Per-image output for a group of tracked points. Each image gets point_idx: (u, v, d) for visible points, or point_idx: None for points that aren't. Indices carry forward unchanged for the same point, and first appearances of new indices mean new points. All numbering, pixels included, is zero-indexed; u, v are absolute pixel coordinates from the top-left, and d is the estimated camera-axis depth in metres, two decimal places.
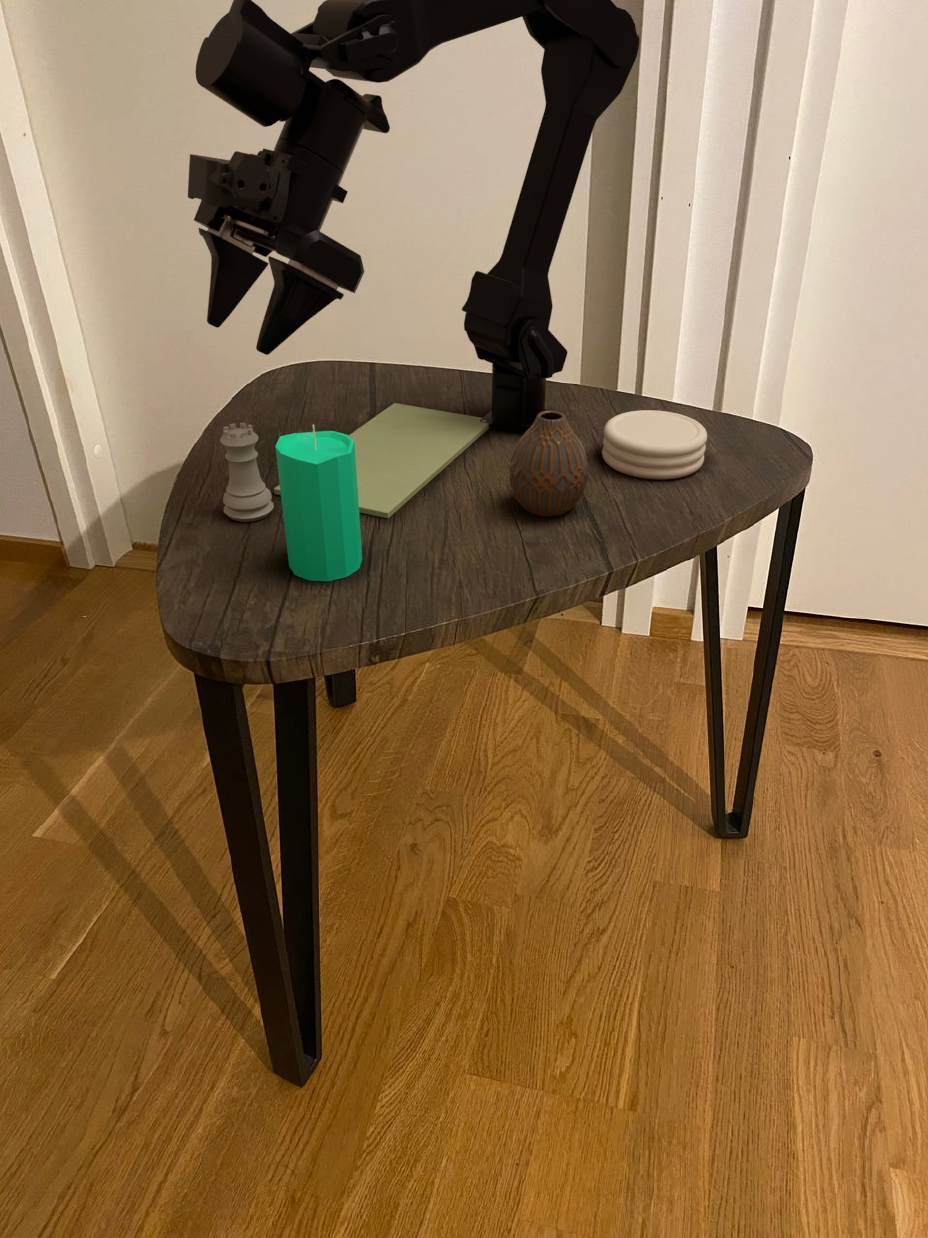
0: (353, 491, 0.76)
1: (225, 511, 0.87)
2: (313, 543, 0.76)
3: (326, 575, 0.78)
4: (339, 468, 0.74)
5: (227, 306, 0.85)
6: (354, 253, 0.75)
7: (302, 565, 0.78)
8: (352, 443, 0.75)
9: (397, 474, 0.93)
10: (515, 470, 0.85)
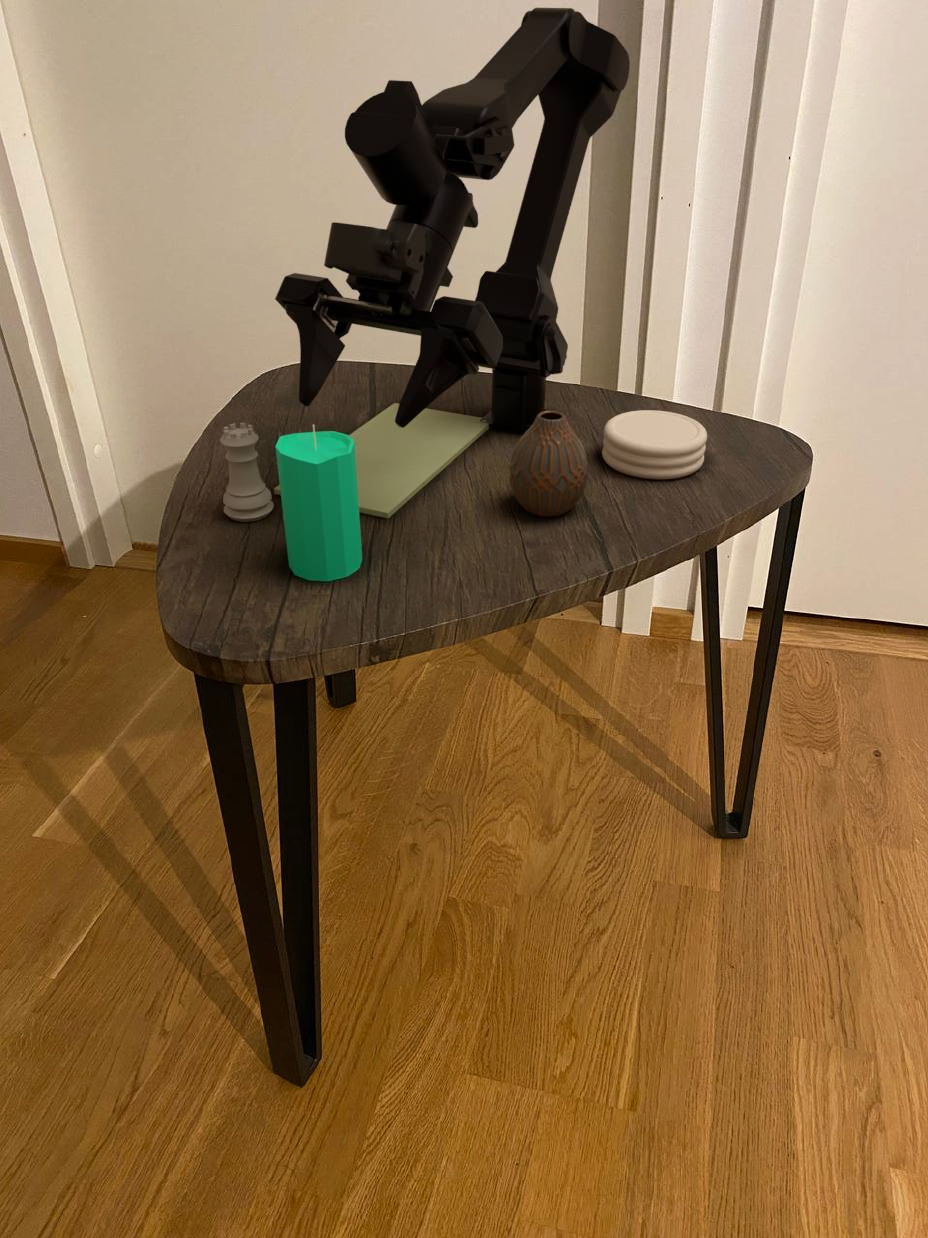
0: (353, 491, 0.76)
1: (225, 511, 0.87)
2: (313, 543, 0.76)
3: (326, 575, 0.78)
4: (340, 468, 0.74)
5: (317, 385, 0.80)
6: None
7: (302, 565, 0.78)
8: (352, 443, 0.75)
9: (397, 474, 0.93)
10: (515, 470, 0.85)
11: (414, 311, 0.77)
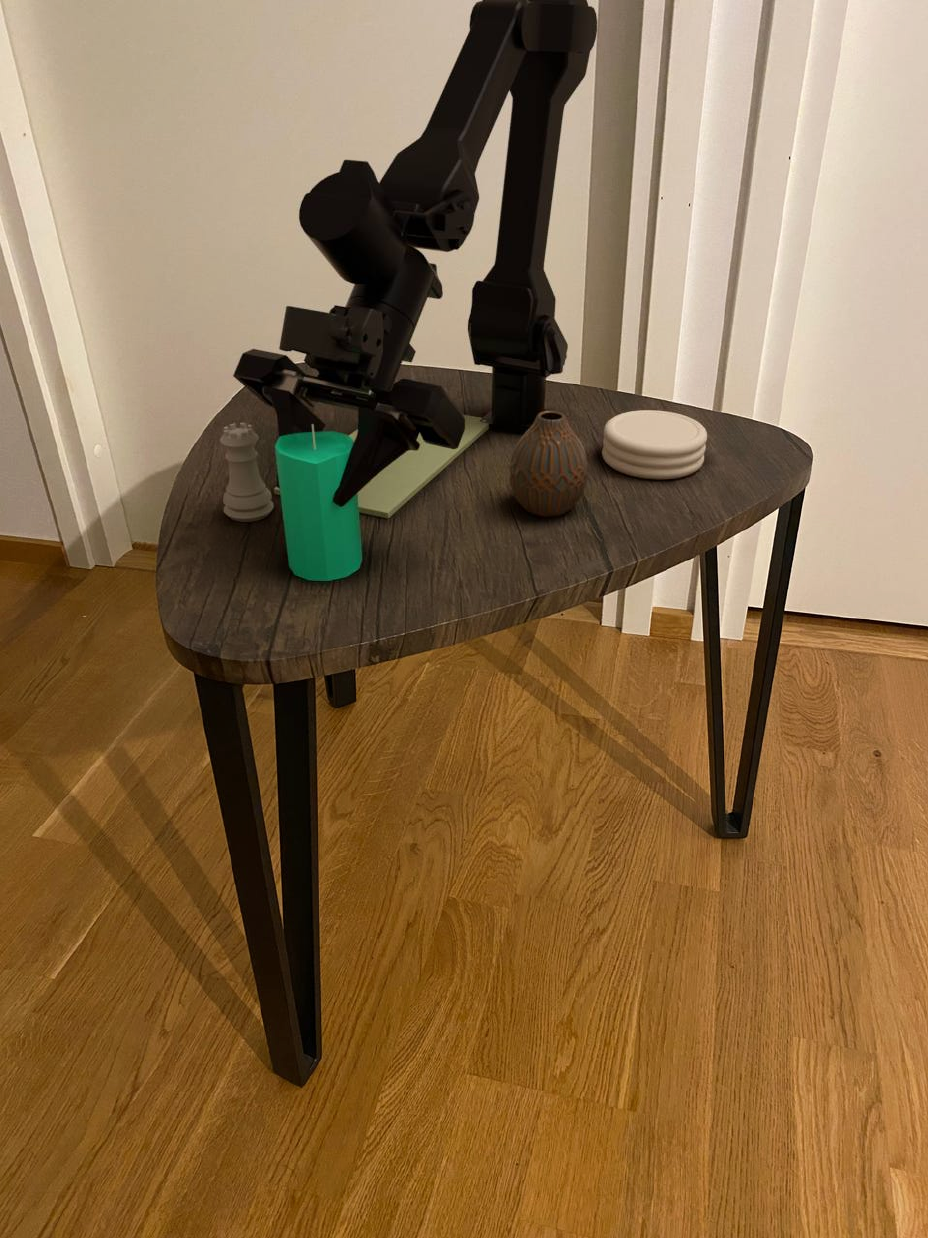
0: None
1: (225, 511, 0.87)
2: (313, 543, 0.76)
3: (326, 575, 0.78)
4: (339, 467, 0.74)
5: None
6: (460, 410, 0.75)
7: (302, 565, 0.78)
8: (351, 442, 0.75)
9: (397, 474, 0.93)
10: (515, 470, 0.85)
11: (374, 391, 0.75)
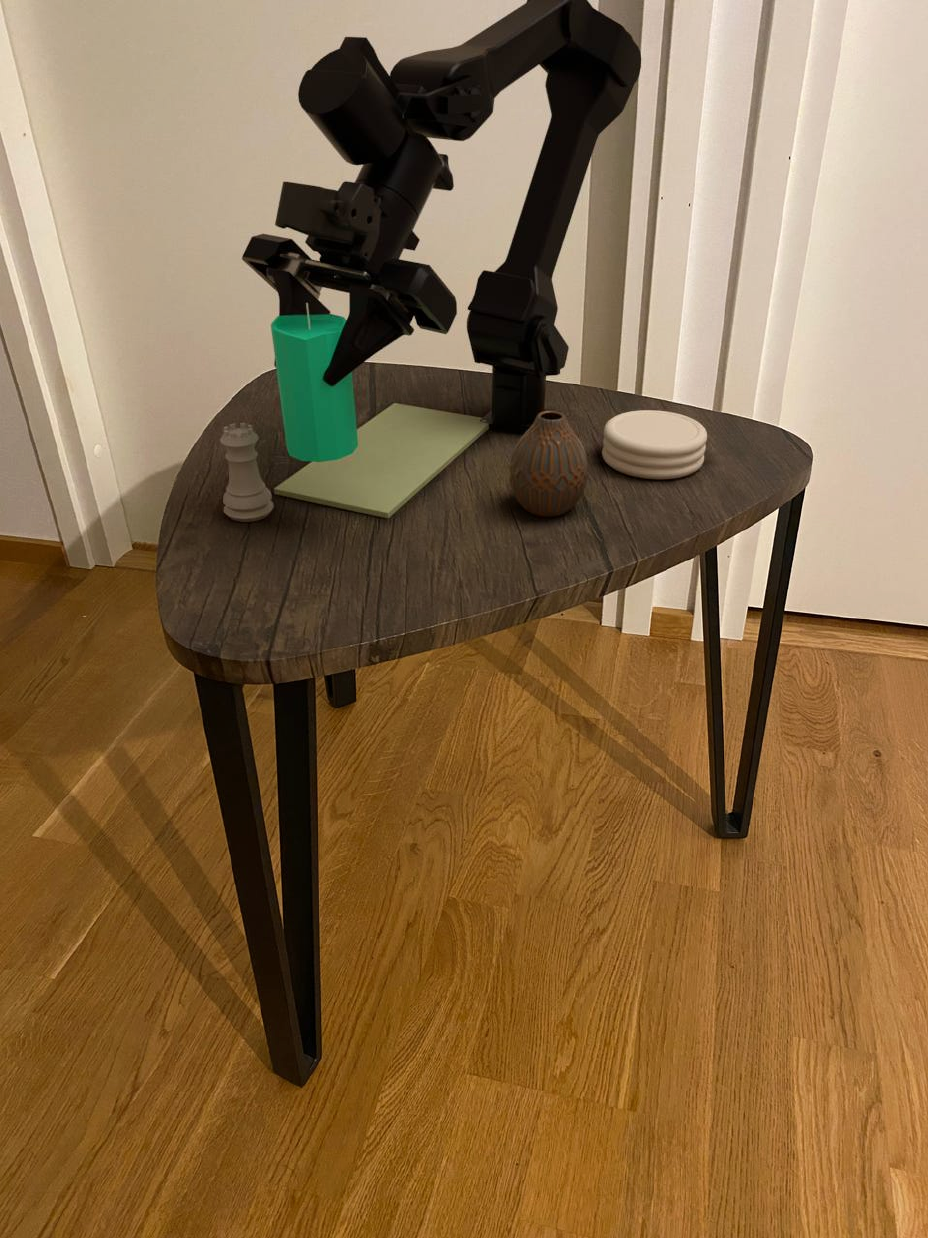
0: None
1: (225, 511, 0.87)
2: (305, 422, 0.78)
3: (317, 456, 0.80)
4: (329, 345, 0.75)
5: None
6: (452, 294, 0.75)
7: (295, 445, 0.80)
8: None
9: (397, 474, 0.93)
10: (515, 470, 0.85)
11: (370, 273, 0.77)
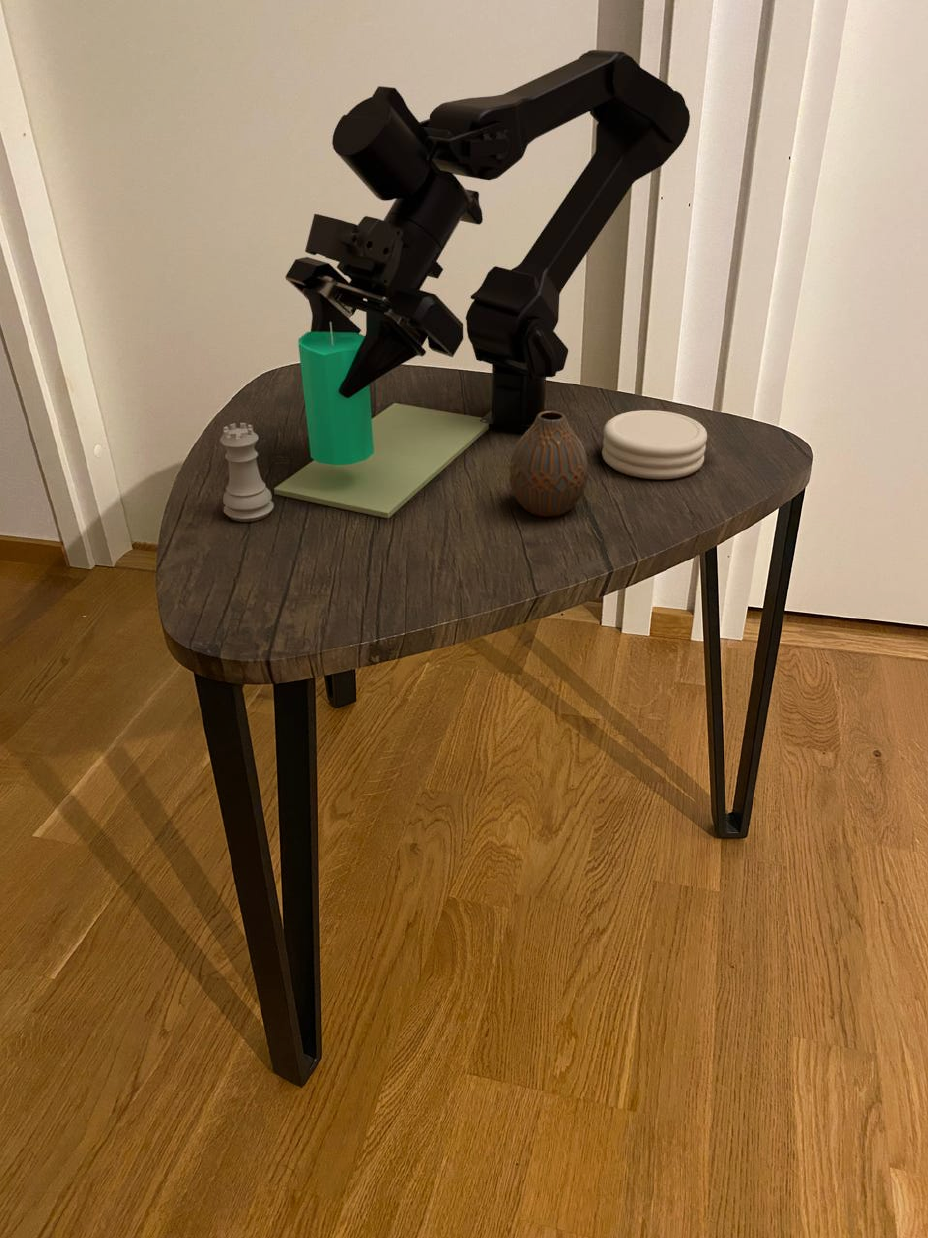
0: None
1: (225, 511, 0.87)
2: (322, 429, 0.87)
3: (333, 459, 0.88)
4: (345, 361, 0.83)
5: None
6: (459, 321, 0.82)
7: (315, 448, 0.88)
8: None
9: (397, 474, 0.93)
10: (515, 470, 0.85)
11: (390, 298, 0.84)
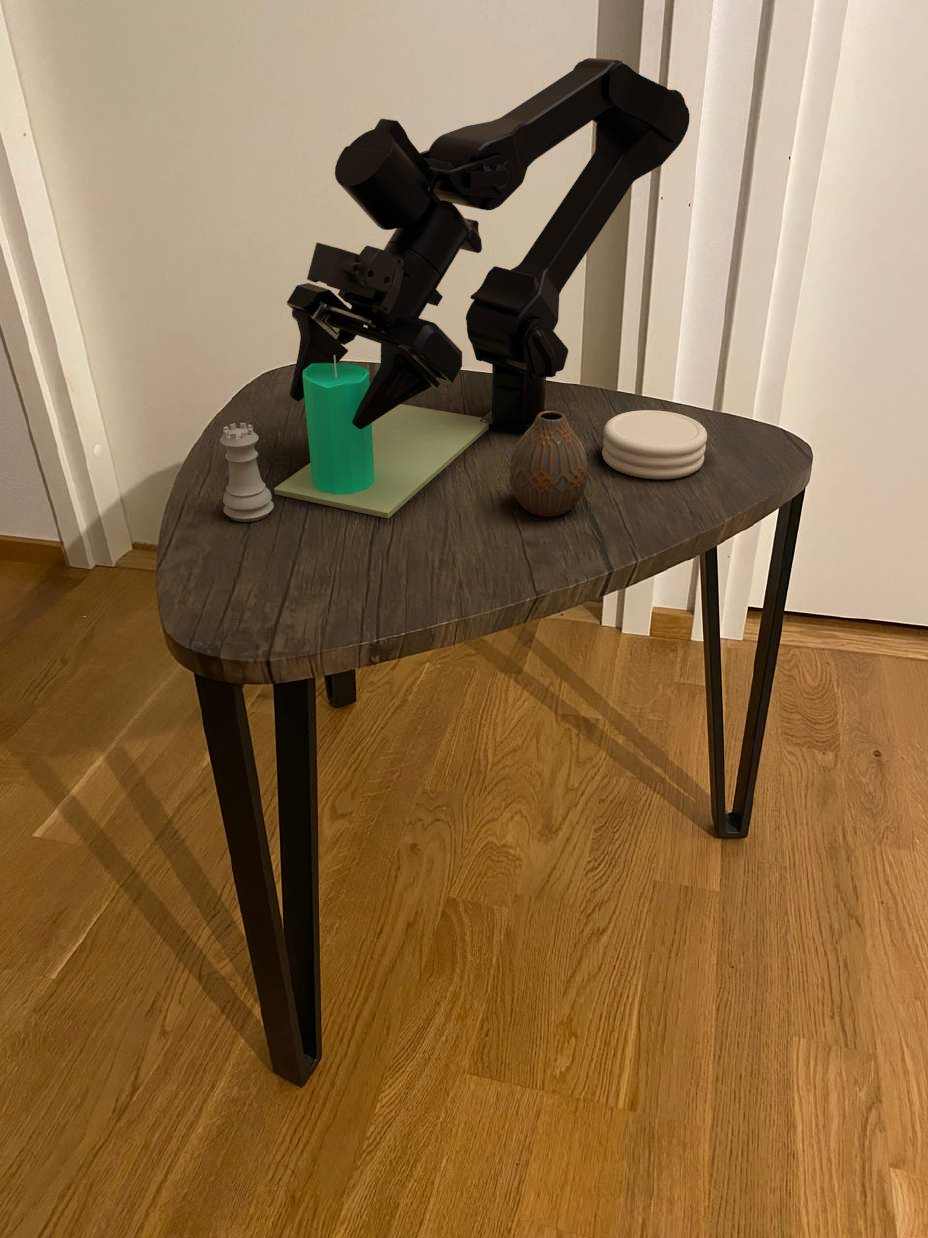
0: None
1: (225, 511, 0.87)
2: (324, 459, 0.88)
3: (334, 489, 0.89)
4: (348, 394, 0.85)
5: None
6: (458, 349, 0.83)
7: (316, 477, 0.90)
8: (366, 375, 0.86)
9: (397, 474, 0.93)
10: (515, 470, 0.85)
11: (390, 326, 0.85)
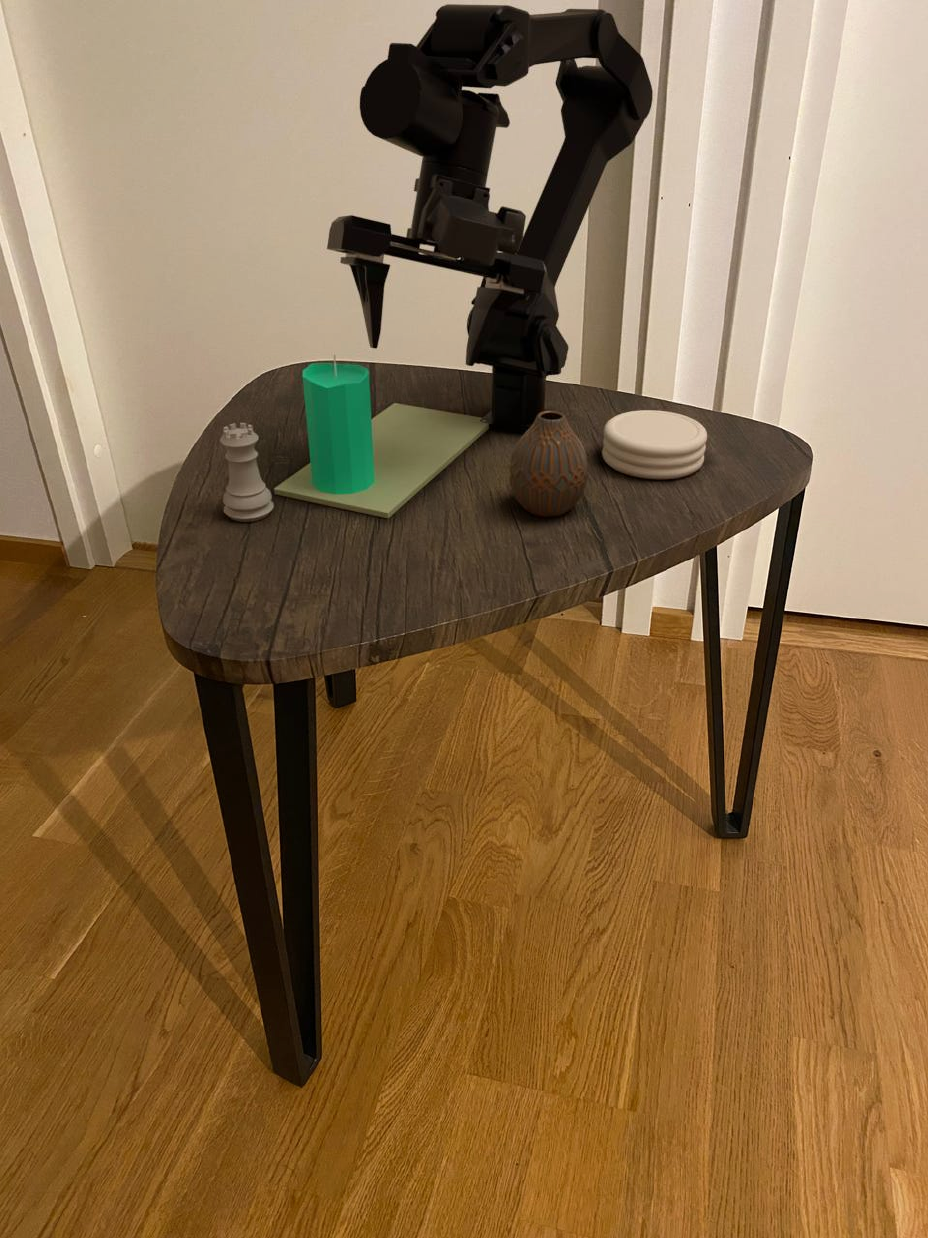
0: (362, 417, 0.87)
1: (225, 511, 0.87)
2: (324, 459, 0.88)
3: (334, 489, 0.89)
4: (348, 394, 0.85)
5: None
6: None
7: (316, 477, 0.90)
8: (366, 375, 0.86)
9: (397, 474, 0.93)
10: (515, 470, 0.85)
11: None
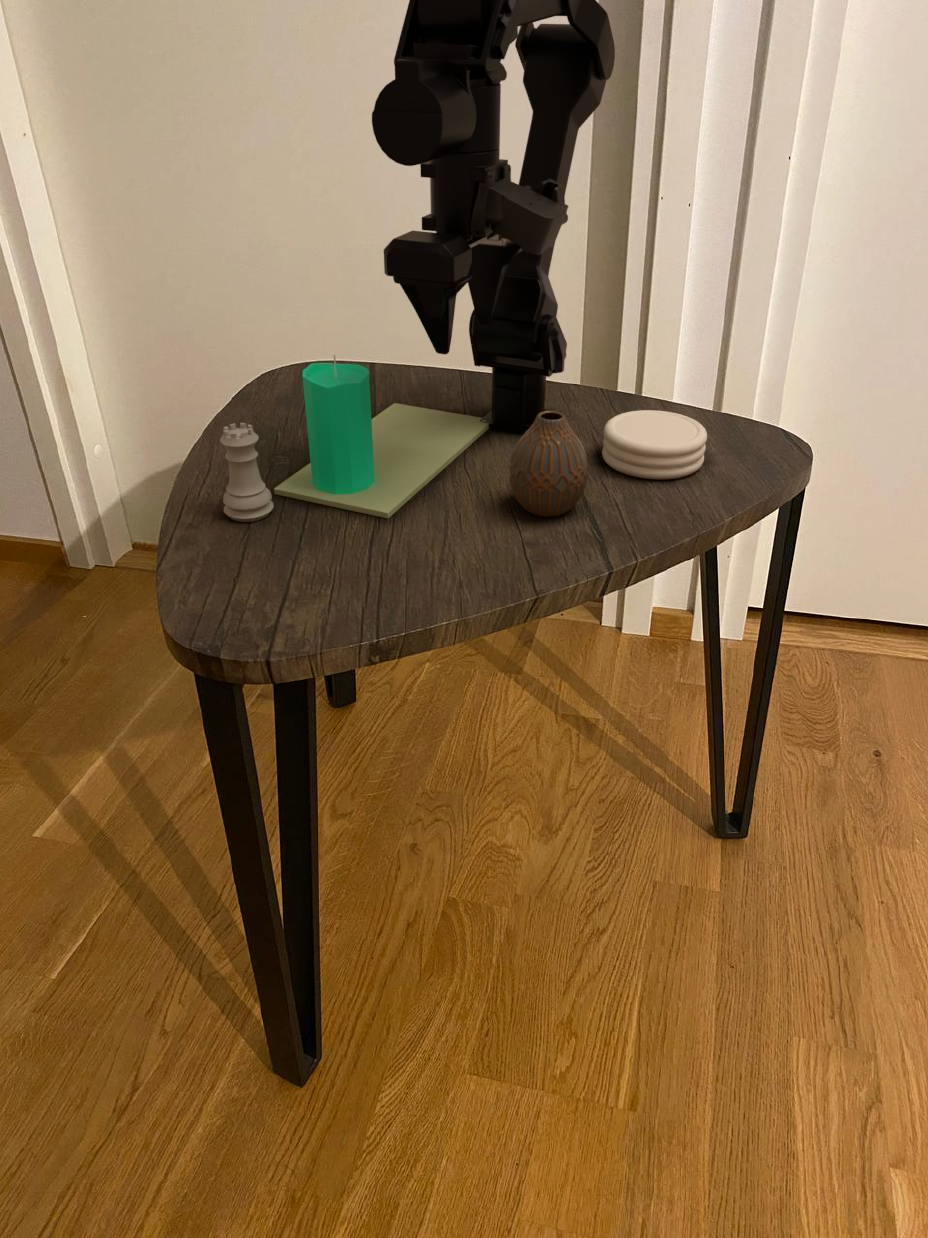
0: (362, 417, 0.87)
1: (225, 511, 0.87)
2: (324, 459, 0.88)
3: (334, 489, 0.89)
4: (348, 394, 0.85)
5: None
6: None
7: (316, 477, 0.90)
8: (366, 375, 0.86)
9: (397, 474, 0.93)
10: (515, 470, 0.85)
11: None
